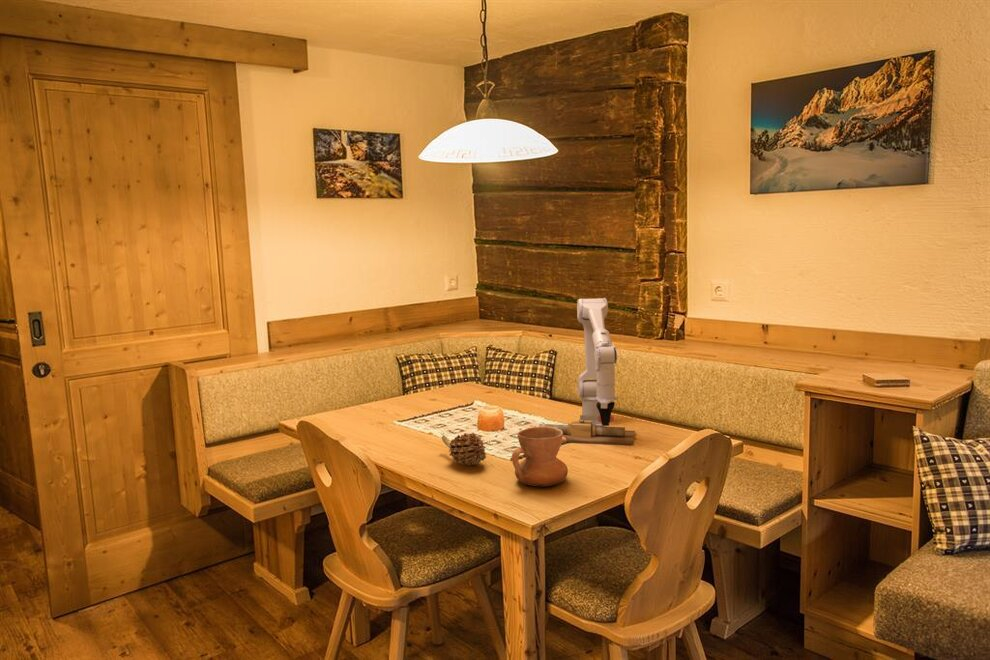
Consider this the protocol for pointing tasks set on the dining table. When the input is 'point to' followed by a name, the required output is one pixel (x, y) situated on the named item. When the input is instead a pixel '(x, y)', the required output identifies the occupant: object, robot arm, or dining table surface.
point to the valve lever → (593, 418)
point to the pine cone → (466, 449)
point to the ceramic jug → (540, 457)
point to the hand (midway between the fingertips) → (605, 424)
